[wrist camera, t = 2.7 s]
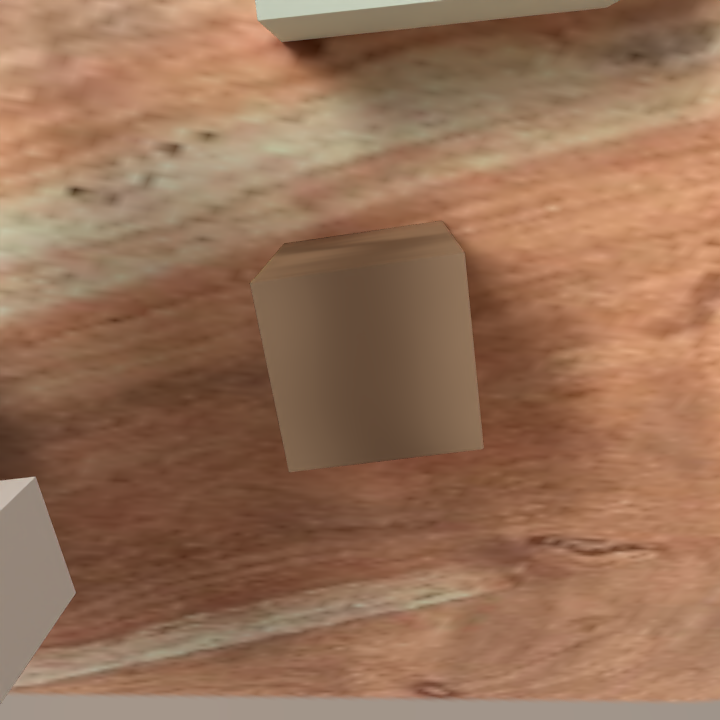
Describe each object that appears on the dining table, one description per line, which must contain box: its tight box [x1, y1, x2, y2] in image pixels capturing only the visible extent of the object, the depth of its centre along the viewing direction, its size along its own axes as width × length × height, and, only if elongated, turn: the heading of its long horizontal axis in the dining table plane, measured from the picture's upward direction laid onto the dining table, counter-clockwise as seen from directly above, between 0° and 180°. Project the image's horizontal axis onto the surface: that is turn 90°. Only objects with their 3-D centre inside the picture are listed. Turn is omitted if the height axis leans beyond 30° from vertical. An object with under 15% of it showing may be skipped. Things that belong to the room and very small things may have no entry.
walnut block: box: [250, 221, 484, 472], centre depth 22 cm, size 6×6×7 cm
